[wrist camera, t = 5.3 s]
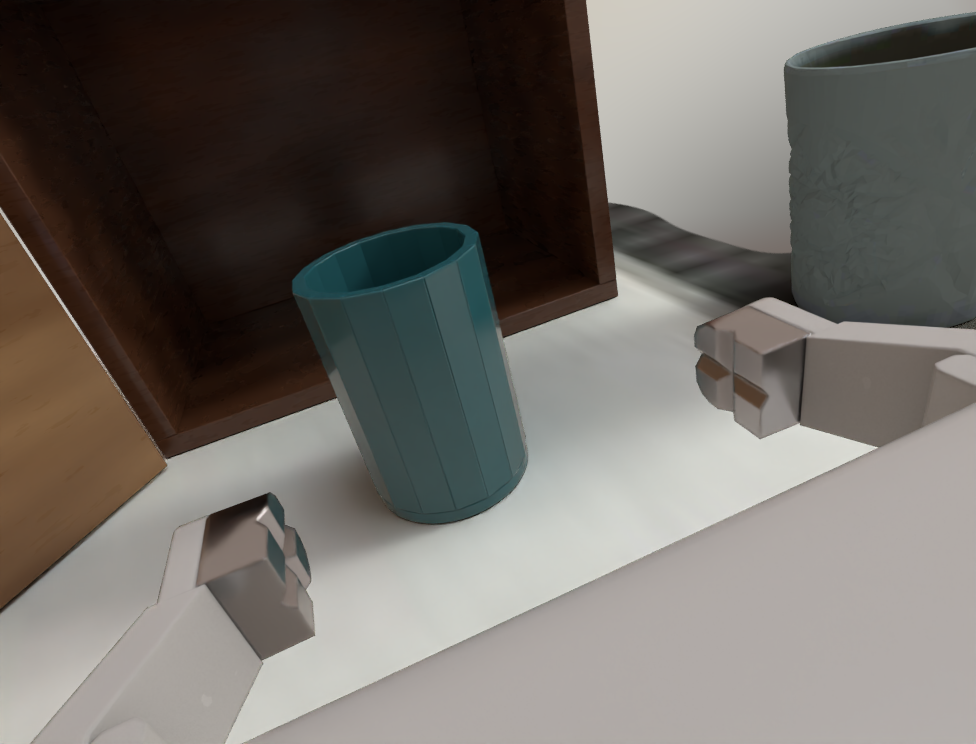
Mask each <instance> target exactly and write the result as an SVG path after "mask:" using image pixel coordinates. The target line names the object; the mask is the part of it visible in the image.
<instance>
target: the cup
mask: <svg viewBox="0 0 976 744" xmlns="http://www.w3.org/2000/svg"><path fill="white" fill-rule="evenodd" d="M292 293H293V295H294V298H295V300H296V302H297V305H298V307H299V309H300V312H301V314H302V316H303V319H304V321H305V323H306V326H307V328H308V330H309V333H310V335H311V337H312V340H313V342H314V345H315V347H316V349H317V352H318V354H319V356H320V359H321V361H322V363H323V366H324V368H325V370H326V373H327V375H328V377H329V380H330V382H331V384H332V387H333V389H334V391H335V394H336V396H337V398H338V401H339V403H340V405H341V408H342V410H343V412H344V415H345V417H346V419H347V422H348V424H349V426H350V429H351V431H352V433H353V436H354V438H355V440H356V443H357V445H358V447H359V450H360V452H361V454H362V457H363V459H364V461H365V464H366V466H367V468H368V471H369V473H370V475H371V478H372V480H373V482H374V485H375V487H376V489H377V492H378V493H379V495H380V496H381V498H382V500H383V502H384V504H385V505H386V506H387V507H388V508H389V509H390V510H391V511H392V512H393V513H395V514H396V515H398V516H399V517H402V518H404V519H406V520H409V521H413V522H418V523H428V524H437V523H447V522H453V521H458V520H461V519H465V518H468V517H471V516H474V515H476V514H478V513H480V512H483V511H485V510H487V509H488V508H490V507H492V506H493V505H495V504H496V503H498V502H499V501H501V500H502V499H503V498H504V497H506V496H507V495H508V494H509V493H510V492H511V491H512V490H513V489H514V487H515V486H516V485H517V484H518V482H519V481H520V479H521V478H522V476H523V474H524V472H525V469H526V466H527V461H528V450H527V445H526V436H525V431H524V427H523V423H522V419H521V414H520V410H519V406H518V401H517V397H516V393H515V388H514V384H513V380H512V375H511V371H510V367H509V363H508V358H507V354H506V350H505V345H504V341H503V337H502V332H501V328H500V324H499V319H498V315H497V311H496V307H495V302H494V298H493V294H492V289H491V285H490V281H489V276H488V272H487V268H486V263H485V259H484V255H483V251H482V246H481V242H480V238H479V234H478V232H476V231H475V230H474V229H472V228H471V227H469V226H468V225H463V224H455V223H445V222H443V223H431V224H419V225H413V226H408V227H404V228H399V229H394V230H389V231H385V232H382V233H379V234H375V235H372V236H369V237H366V238H363V239H359V240H357V241H354V242H351V243H349V244H347V245H345V246H342V247H340V248H338V249H335V250H333V251H331V252H328V253H326V254H325V255H323V256H322V257H320V258H318V259H317V260H315V261H313V262H312V263H310V264H309V265H307V266H305V267H304V268H303V269H302V270H301V271H300V272H299V273H298V275H297V276H296V277H295V278H294V279H293V280H292Z"/></svg>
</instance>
